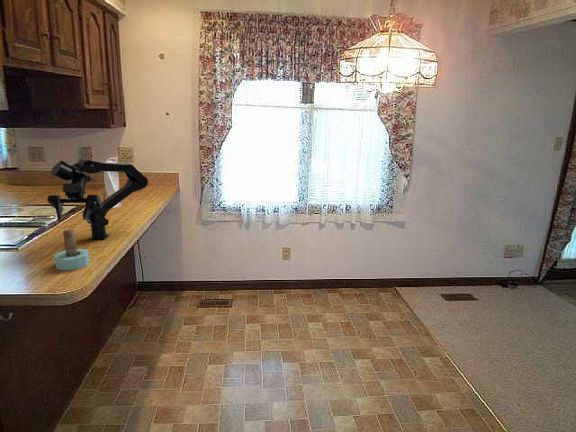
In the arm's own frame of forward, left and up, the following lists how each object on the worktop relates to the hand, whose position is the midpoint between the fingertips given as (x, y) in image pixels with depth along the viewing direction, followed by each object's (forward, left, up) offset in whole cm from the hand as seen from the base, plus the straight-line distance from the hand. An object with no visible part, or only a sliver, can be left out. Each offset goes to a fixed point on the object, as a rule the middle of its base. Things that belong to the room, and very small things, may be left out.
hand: (71, 219), depth 154 cm
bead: (+13, +6, -14) cm, 19 cm away
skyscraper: (-70, -14, -14) cm, 73 cm away
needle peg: (+12, +6, -14) cm, 19 cm away
